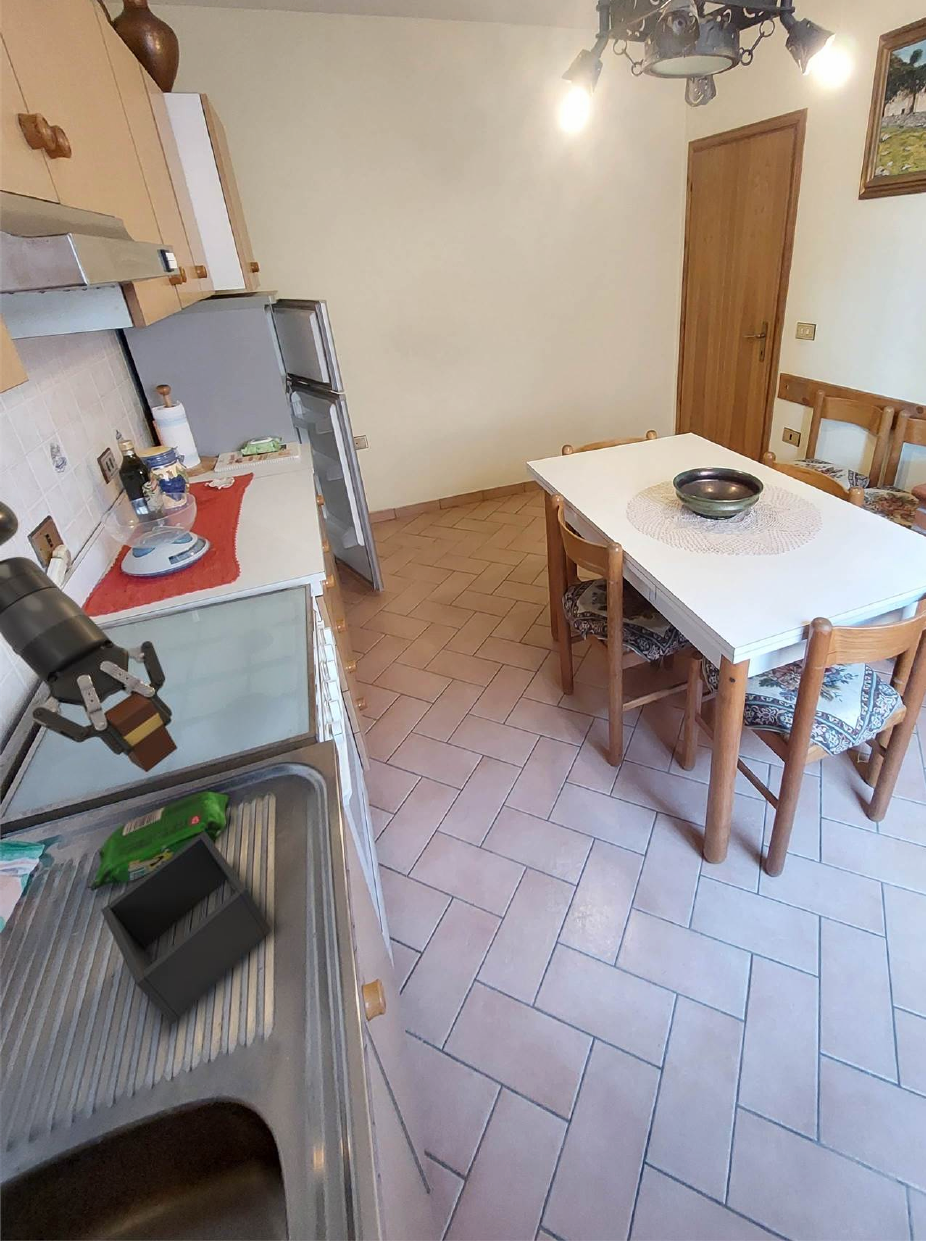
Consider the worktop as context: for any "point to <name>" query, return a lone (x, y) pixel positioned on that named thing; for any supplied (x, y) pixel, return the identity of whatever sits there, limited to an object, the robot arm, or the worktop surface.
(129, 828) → the snack package
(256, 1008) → the worktop surface
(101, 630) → the robot arm
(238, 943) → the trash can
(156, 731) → the brown yellow banded block
